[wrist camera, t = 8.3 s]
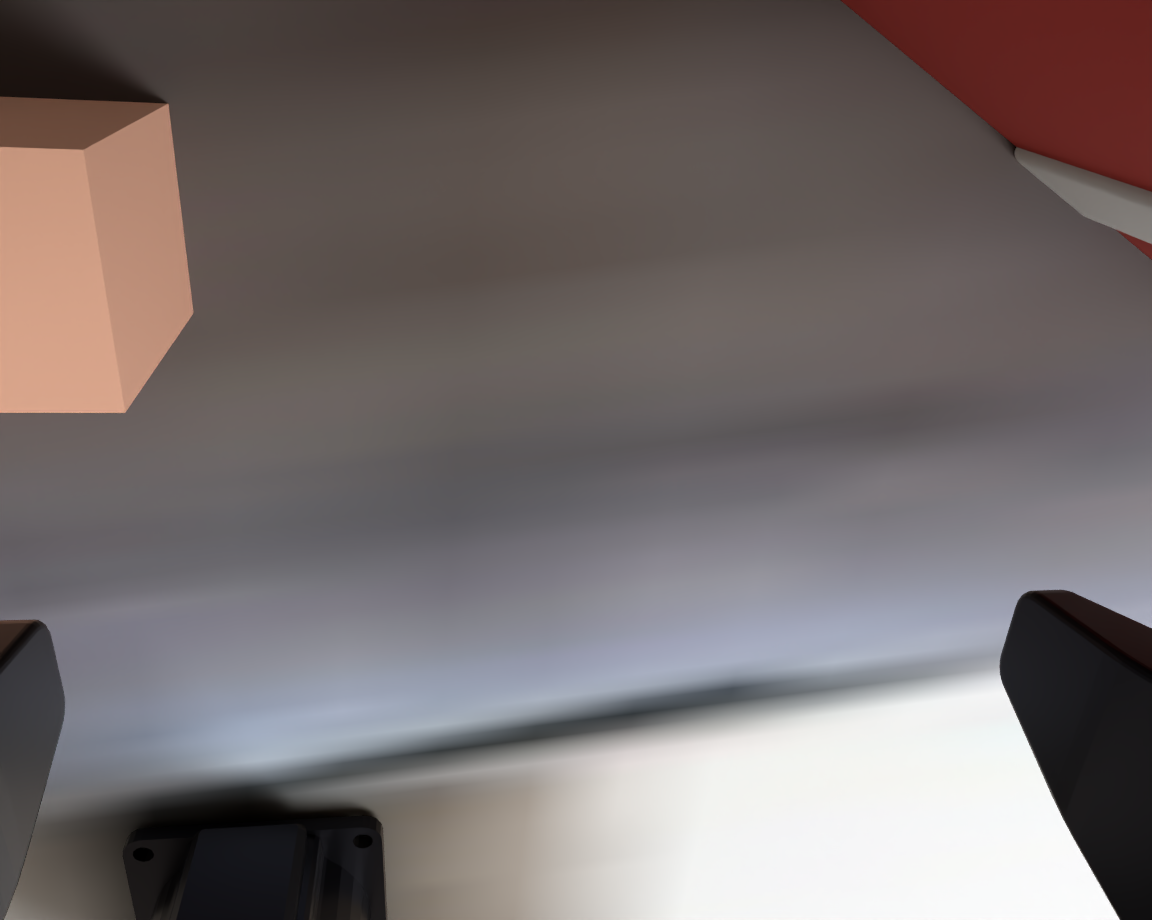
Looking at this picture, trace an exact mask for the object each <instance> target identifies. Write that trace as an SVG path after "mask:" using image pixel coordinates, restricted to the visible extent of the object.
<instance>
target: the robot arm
mask: <svg viewBox="0 0 1152 920" xmlns="http://www.w3.org/2000/svg"><path fill="white" fill-rule="evenodd" d="M1000 675H1001V680H1002V683H1003V686H1004V688H1005V690H1006V693H1007V695H1008V697H1009V699H1010V702H1011V704H1012V706H1013V709H1014V711H1015V713H1016V715H1017V718H1018V720H1019V722H1020V724H1021V727H1022V729H1023V731H1024V733H1025V736H1026V738H1027V740H1028V742H1029V745H1030V747H1031V749H1032V751H1033V754H1034V756H1035V758H1036V761H1037V763H1038V765H1039V767H1040V770H1041V772H1042V774H1043V776H1044V779H1045V781H1046V783H1047V785H1048V788H1049V790H1050V792H1051V794H1052V797H1053V799H1054V801H1055V803H1056V805H1057V807H1058V809H1059V811H1060V813H1061V815H1062V817H1063V820H1064V821H1065V823H1066V825H1067V827H1068V829H1069V831H1070V833H1071V834H1072V836H1073V838H1074V840H1075V842H1076V844H1077V846H1078V847H1079V849H1080V851H1081V853H1082V854H1083V856H1084V858H1085V860H1086V861H1087V863H1088V865H1089V867H1090V868H1091V870H1092V872H1093V874H1094V875H1095V877H1096V879H1097V881H1098V882H1099V884H1100V886H1101V888H1102V889H1103V891H1104V893H1105V895H1106V896H1107V898H1108V900H1109V902H1110V903H1111V905H1112V907H1113V909H1114V911H1115V912H1116V914H1117V916H1118V918H1119V919H1120V920H1152V628H1149V627H1147V626H1145V625H1143V624H1141V623H1138V622H1136V621H1134V620H1132V619H1130V618H1128V617H1125V616H1123V615H1121V614H1119V613H1117V612H1114V611H1112V610H1110V609H1108V608H1106V607H1103V606H1101V605H1099V604H1097V603H1095V602H1092V601H1090V600H1088V599H1086V598H1084V597H1081V596H1079V595H1077V594H1075V593H1073V592H1070V591H1066V590H1041V591H1029V592H1027V593H1025V594H1023V595H1022V596H1021V598H1020V599H1019V600H1018V602H1017V605H1016V607H1015V611H1014V614H1013V617H1012V621H1011V624H1010V627H1009V631H1008V634H1007V637H1006V641H1005V644H1004V647H1003V650H1002V654H1001V658H1000ZM64 714H65V696H64V691H63V686H62V682H61V678H60V673H59V669H58V664H57V660H56V656H55V651H54V647H53V642H52V638H51V634H50V632H49V630H48V628H47V626H46V625H45V624H44V623H42V622H41V621H39V620H4V621H0V920H4V918H5V915H6V913H7V910H8V908H9V905H10V902H11V900H12V897H13V895H14V892H15V889H16V887H17V884H18V881H19V877H20V874H21V871H22V868H23V864H24V861H25V858H26V855H27V851H28V847H29V844H30V840H31V837H32V833H33V829H34V826H35V822H36V819H37V815H38V811H39V808H40V804H41V801H42V797H43V793H44V790H45V786H46V783H47V779H48V775H49V772H50V768H51V765H52V761H53V757H54V754H55V750H56V747H57V743H58V739H59V736H60V732H61V729H62V725H63V721H64ZM361 834H365V835H368V836H359V835H361ZM141 847H144V848H149V849H143V848H141ZM123 859H124V864H125V869H126V873H127V878H128V883H129V887H130V892H131V897H132V901H133V906H134V911H135V915H136V920H387V902H386V881H385V861H384V840H383V827H382V824H381V823H380V822H379V821H378V820H377V819H376V818H373V817H371V816H350V817H332V818H314V819H297V820H279V821H262V822H244V823H227V824H209V825H192V826H174V827H156V828H143V829H138V830H136V831H134V832H132V833H131V834H130V835H129V837H128V838H127V841H126V844H125V847H124V850H123Z"/></svg>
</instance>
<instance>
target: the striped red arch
mask: <svg viewBox="0 0 1152 920" xmlns="http://www.w3.org/2000/svg"><path fill="white" fill-rule="evenodd" d="M841 1H842V2H843V3H844V4H846V5H847V6H848V7H849V8H850V9H852V10H853V11H854V12H855V13H856V14H858V15H859V16H860V17H861V18H862V19H864V20H865V21H866V22H867V23H868V24H870V25H871V26H872V27H873V28H874V29H876V30H877V31H878V32H879V33H880V34H882V35H883V36H884V37H885V38H886V39H888V40H889V41H890V42H891V43H892V44H894V45H895V46H896V47H897V48H898V49H900V50H901V51H902V52H903V53H904V54H906V55H907V56H908V57H909V58H910V59H912V60H913V61H914V62H915V63H916V64H918V65H919V66H920V67H921V68H922V69H924V70H925V71H926V72H927V73H928V74H930V75H931V76H932V77H933V78H934V79H936V80H937V81H938V82H939V83H940V84H942V85H943V86H944V87H945V88H946V89H948V90H949V91H950V92H951V93H952V94H954V95H955V96H956V97H957V98H958V99H960V100H961V101H962V102H963V103H964V104H966V105H967V106H968V107H969V108H970V109H972V110H973V111H974V112H975V113H976V114H978V115H979V116H980V117H981V118H982V119H984V120H985V121H986V122H987V123H988V124H990V125H991V126H992V127H993V128H994V129H996V130H997V131H998V132H999V133H1000V134H1002V135H1003V136H1004V137H1005V138H1006V139H1008V140H1009V141H1010V142H1011V143H1012V144H1014V145H1015V146H1016V149H1015V153H1014V154H1015V158H1016V160H1017V161H1018V162H1019V163H1020V164H1021V165H1022V166H1023V167H1025V168H1026V169H1027V170H1028V171H1029V172H1031V173H1032V174H1033V175H1034V176H1036V177H1037V178H1038V179H1039V180H1040V181H1042V182H1043V183H1044V184H1045V185H1046V186H1048V187H1049V188H1050V189H1051V190H1052V191H1054V192H1055V193H1056V194H1057V195H1059V196H1060V197H1061V198H1062V199H1063V200H1065V201H1066V202H1067V203H1068V204H1069V205H1071V206H1072V207H1073V208H1074V209H1075V210H1077V211H1078V212H1079V213H1080V214H1081V215H1083V216H1084V217H1086V218H1089V219H1091V220H1094V221H1096V222H1099V223H1101V224H1104V225H1106V226H1108V227H1111V228H1113V229H1115V230H1117V231H1118V232H1119V233H1120V234H1121V235H1123V236H1124V237H1125V238H1126V239H1127V240H1129V241H1130V242H1131V243H1132V244H1133V245H1135V246H1136V247H1137V248H1138V249H1139V250H1141V251H1142V252H1143V253H1144V254H1145V255H1147V256H1148V257H1149V258H1150V259H1151V260H1152V0H841Z"/></svg>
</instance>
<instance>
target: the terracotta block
mask: <svg viewBox="0 0 1152 920" xmlns="http://www.w3.org/2000/svg"><path fill="white" fill-rule="evenodd" d="M192 315H193V306H192V297H191V289H190V281H189V272H188V264H187V256H186V247H185V239H184V231H183V222H182V214H181V206H180V197H179V189H178V181H177V172H176V164H175V156H174V147H173V139H172V131H171V122H170V114H169V106H168V104H165V103H141V102H117V101H93V100H69V99H45V98H21V97H0V413H125V412H126V411H127V409H128V408H129V406H130V405H131V403H132V402H133V401H134V399H135V398H136V396H137V395H138V393H139V392H140V390H141V389H142V387H143V386H144V384H145V383H146V382H147V380H148V379H149V377H150V376H151V374H152V373H153V371H154V370H155V368H156V367H157V366H158V364H159V363H160V361H161V360H162V358H163V357H164V355H165V354H166V352H167V351H168V350H169V348H170V347H171V345H172V344H173V342H174V341H175V339H176V338H177V336H178V335H179V333H180V332H181V331H182V329H183V328H184V326H185V325H186V323H187V322H188V320H189V319H190V317H191V316H192Z"/></svg>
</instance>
